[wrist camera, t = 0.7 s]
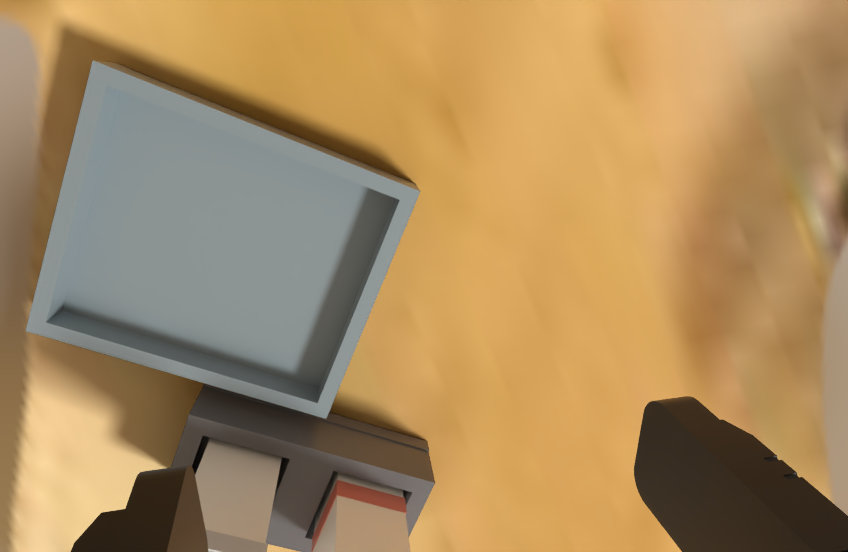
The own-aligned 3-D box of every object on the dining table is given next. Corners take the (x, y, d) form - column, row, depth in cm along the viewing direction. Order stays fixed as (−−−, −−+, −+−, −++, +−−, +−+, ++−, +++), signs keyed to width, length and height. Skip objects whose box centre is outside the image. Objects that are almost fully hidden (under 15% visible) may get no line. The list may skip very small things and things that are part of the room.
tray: (114, 62, 28) (92, 60, 26) (415, 183, 32) (420, 191, 29) (50, 312, 31) (25, 331, 29) (328, 396, 35) (326, 418, 33)
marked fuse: (338, 445, 35) (332, 576, 26) (401, 463, 36) (419, 596, 26) (314, 499, 36) (301, 646, 27) (377, 515, 37) (385, 662, 28)
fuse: (219, 411, 33) (166, 539, 24) (288, 431, 34) (264, 561, 25) (198, 469, 34) (140, 614, 25) (266, 487, 35) (235, 632, 26)
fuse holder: (207, 376, 34) (189, 412, 30) (427, 441, 37) (435, 481, 33) (174, 472, 35) (153, 518, 32) (386, 526, 39) (390, 573, 35)
